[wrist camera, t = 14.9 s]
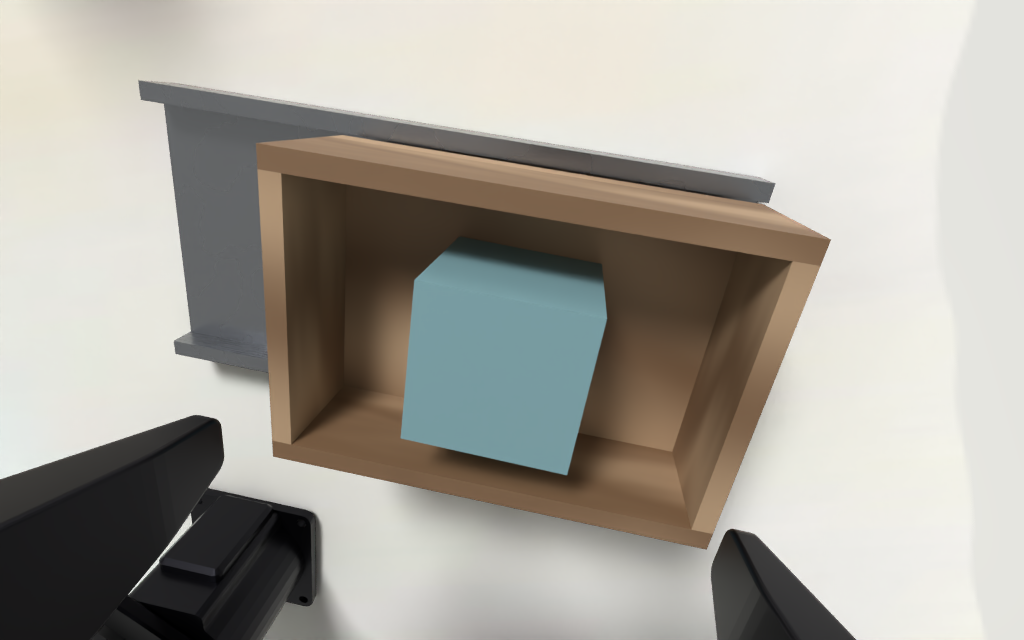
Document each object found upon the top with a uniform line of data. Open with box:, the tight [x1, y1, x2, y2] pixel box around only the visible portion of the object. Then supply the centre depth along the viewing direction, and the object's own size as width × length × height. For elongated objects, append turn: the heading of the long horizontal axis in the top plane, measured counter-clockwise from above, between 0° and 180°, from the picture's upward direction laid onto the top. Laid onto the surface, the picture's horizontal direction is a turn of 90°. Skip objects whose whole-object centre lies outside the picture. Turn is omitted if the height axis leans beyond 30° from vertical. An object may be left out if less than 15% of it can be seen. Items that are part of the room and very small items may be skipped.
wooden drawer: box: [256, 135, 831, 549], centre depth 16 cm, size 9×13×6 cm
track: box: [138, 80, 775, 373], centre depth 19 cm, size 10×21×2 cm, turn 81°
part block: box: [401, 236, 607, 475], centre depth 14 cm, size 4×4×4 cm
